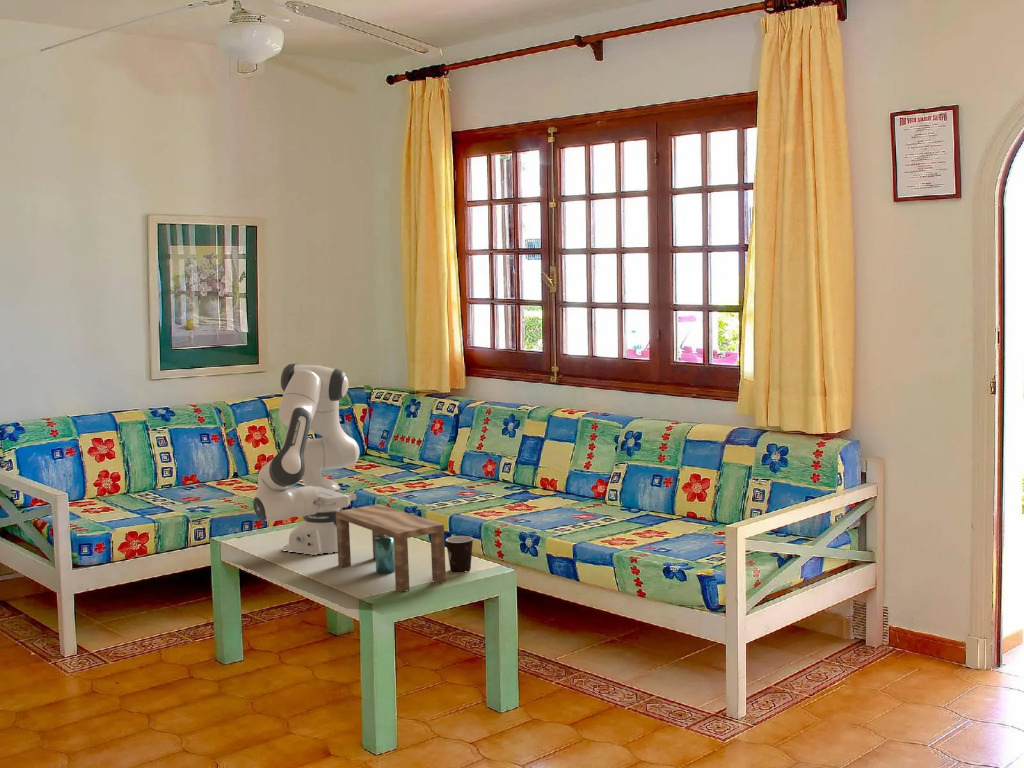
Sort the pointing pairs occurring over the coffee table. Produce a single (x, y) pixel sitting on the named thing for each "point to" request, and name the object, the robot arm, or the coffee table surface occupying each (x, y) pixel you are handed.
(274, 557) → the coffee table surface
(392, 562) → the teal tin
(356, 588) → the coffee table surface
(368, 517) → the low shelf
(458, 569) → the coffee mug
